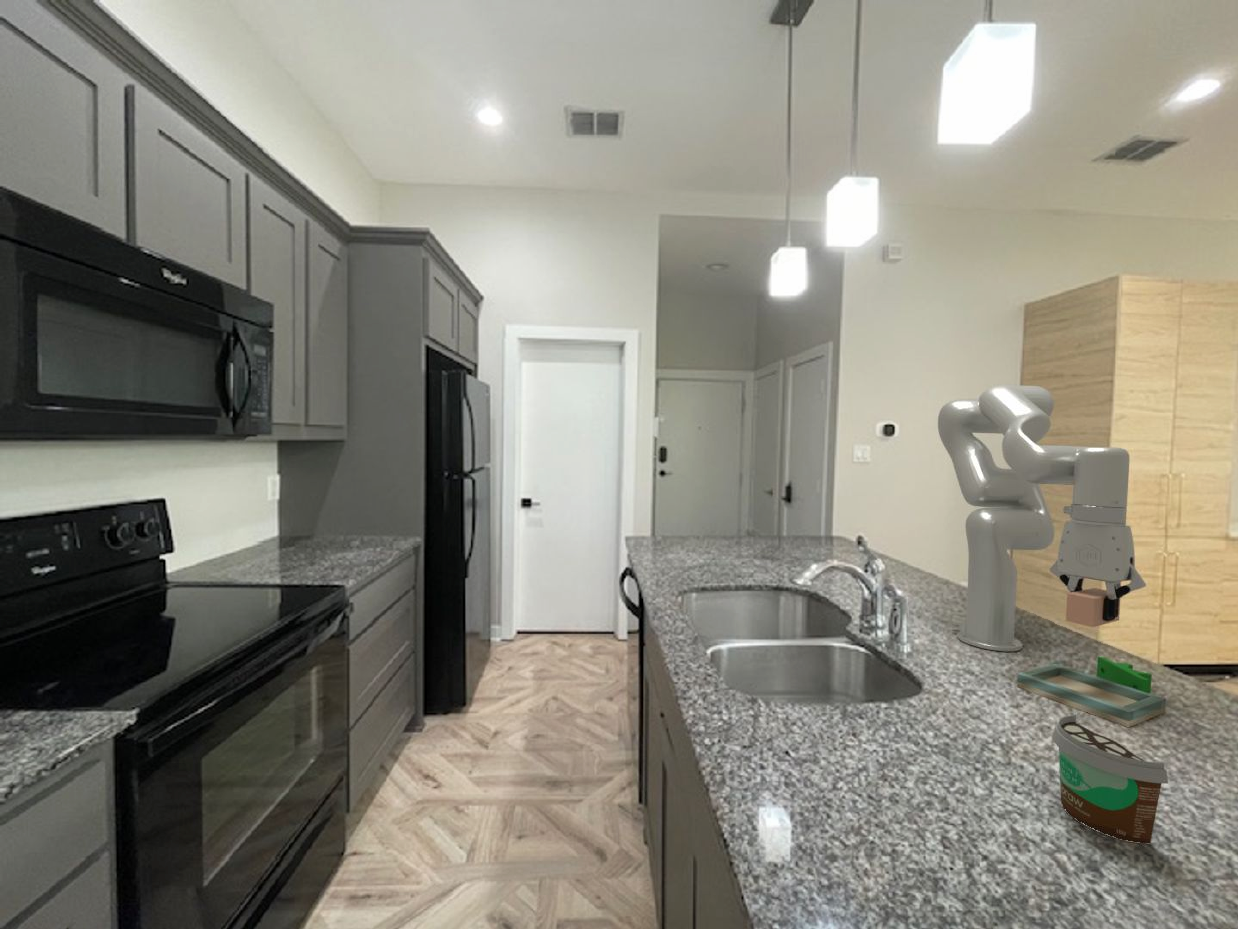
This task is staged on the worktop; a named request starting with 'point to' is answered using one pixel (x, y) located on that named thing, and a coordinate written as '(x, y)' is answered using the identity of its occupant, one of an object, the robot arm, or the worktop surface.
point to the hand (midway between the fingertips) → (1092, 615)
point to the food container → (1107, 783)
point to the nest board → (1092, 694)
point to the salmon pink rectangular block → (1087, 607)
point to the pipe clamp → (1123, 675)
